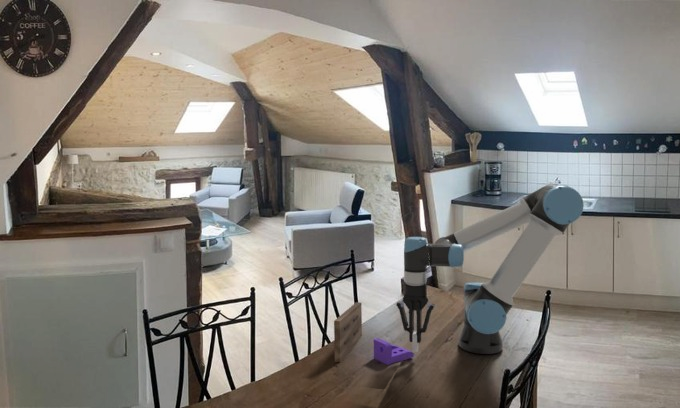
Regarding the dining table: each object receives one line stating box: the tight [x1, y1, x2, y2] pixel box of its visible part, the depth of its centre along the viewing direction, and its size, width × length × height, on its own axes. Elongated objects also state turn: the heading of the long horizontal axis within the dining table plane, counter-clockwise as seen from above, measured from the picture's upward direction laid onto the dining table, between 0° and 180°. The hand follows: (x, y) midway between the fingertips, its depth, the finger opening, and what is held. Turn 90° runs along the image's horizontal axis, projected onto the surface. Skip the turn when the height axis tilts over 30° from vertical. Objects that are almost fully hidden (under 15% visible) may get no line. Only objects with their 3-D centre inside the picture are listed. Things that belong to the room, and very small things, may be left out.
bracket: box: [373, 338, 415, 366], centre depth 169 cm, size 12×7×7 cm, turn 125°
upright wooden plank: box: [333, 301, 363, 363], centre depth 177 cm, size 2×24×14 cm, turn 160°
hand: (415, 351), depth 169 cm, fingers closed
